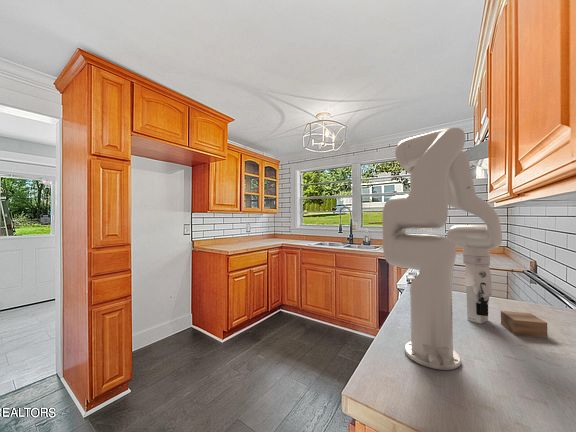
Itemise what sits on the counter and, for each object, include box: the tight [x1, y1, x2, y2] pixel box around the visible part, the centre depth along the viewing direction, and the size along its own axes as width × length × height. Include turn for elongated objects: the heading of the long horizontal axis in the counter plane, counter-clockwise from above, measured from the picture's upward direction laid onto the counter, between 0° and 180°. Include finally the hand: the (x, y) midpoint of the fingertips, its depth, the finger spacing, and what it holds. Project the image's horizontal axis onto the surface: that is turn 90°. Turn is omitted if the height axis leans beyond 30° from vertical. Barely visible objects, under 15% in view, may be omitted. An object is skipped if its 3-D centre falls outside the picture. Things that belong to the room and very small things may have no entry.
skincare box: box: [465, 285, 489, 325], centre depth 88 cm, size 6×4×12 cm
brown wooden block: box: [500, 310, 548, 339], centre depth 79 cm, size 8×8×4 cm
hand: (477, 310), depth 88 cm, fingers closed on skincare box, 7 cm apart
